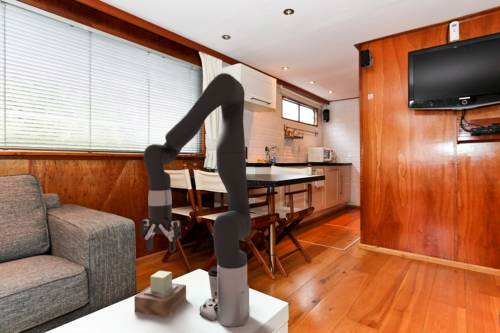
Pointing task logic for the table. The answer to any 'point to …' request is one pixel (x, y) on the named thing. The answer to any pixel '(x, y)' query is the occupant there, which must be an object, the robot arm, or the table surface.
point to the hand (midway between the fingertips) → (161, 250)
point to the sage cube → (161, 281)
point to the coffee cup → (213, 282)
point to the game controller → (209, 309)
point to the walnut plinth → (160, 300)
